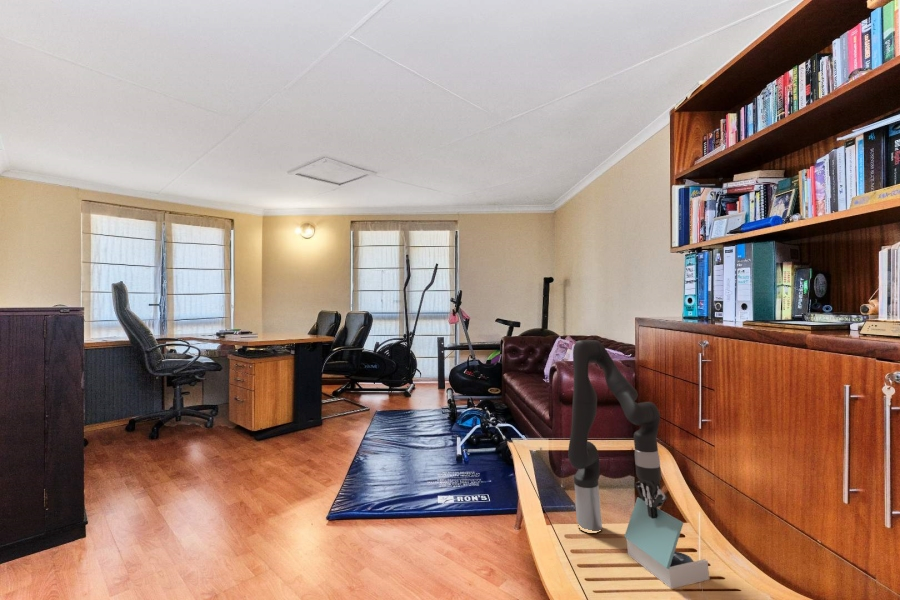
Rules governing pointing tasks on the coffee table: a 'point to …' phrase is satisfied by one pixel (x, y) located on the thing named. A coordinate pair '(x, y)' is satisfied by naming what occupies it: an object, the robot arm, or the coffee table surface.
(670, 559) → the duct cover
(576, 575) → the coffee table surface
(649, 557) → the open box
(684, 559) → the electronic device
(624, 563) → the coffee table surface
